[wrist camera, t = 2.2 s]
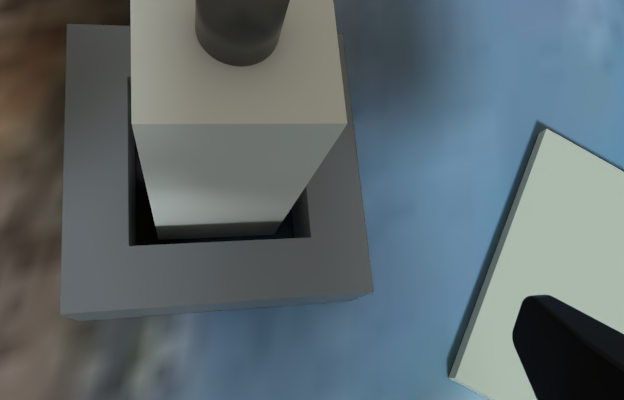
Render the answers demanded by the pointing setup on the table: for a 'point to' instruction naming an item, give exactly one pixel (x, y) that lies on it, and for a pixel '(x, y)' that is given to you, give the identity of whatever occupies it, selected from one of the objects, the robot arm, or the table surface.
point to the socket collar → (188, 256)
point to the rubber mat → (547, 261)
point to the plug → (232, 109)
